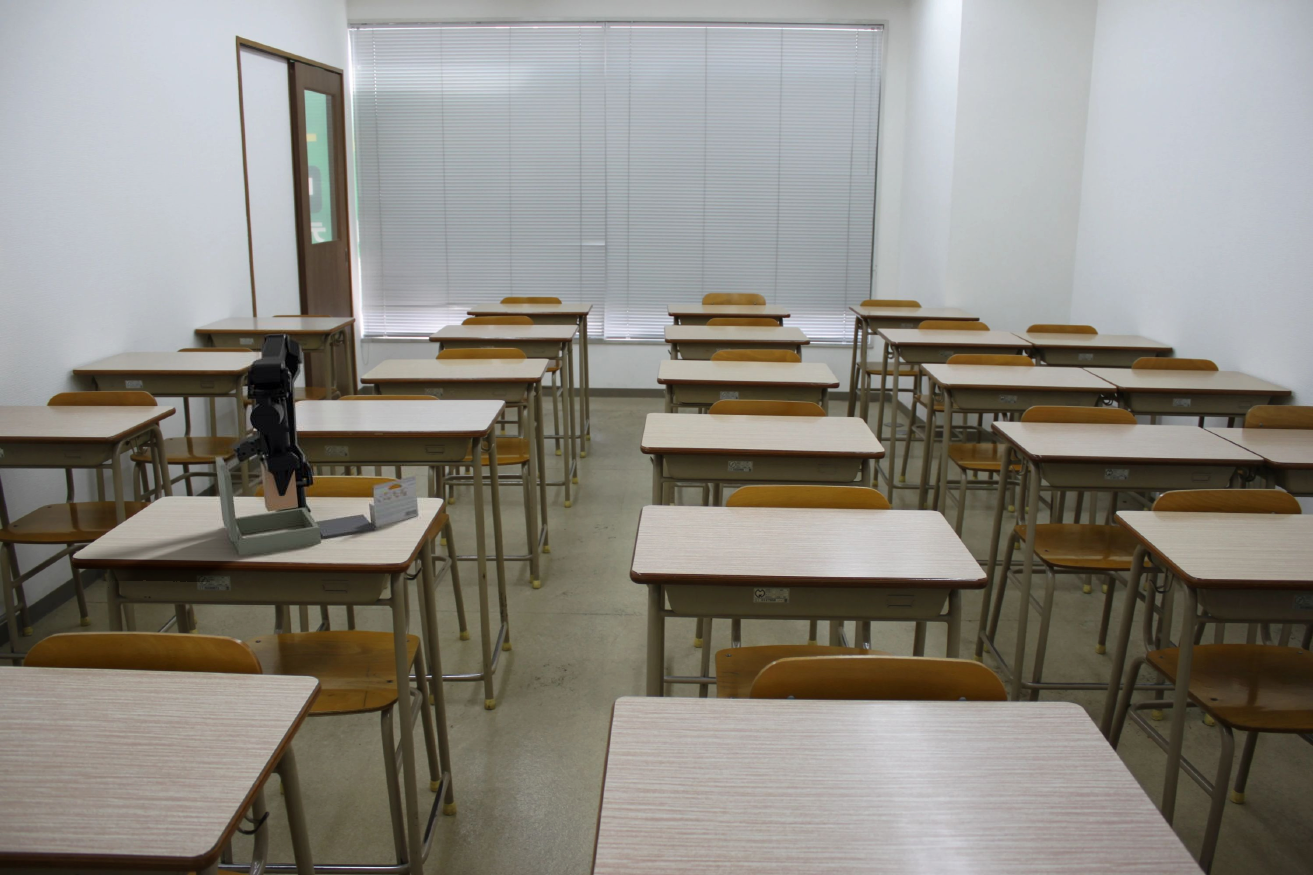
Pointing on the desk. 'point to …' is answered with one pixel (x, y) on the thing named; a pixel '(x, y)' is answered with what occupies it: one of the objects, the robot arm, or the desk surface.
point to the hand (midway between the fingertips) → (280, 493)
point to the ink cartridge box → (394, 502)
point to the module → (272, 495)
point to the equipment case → (263, 523)
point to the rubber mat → (344, 526)
